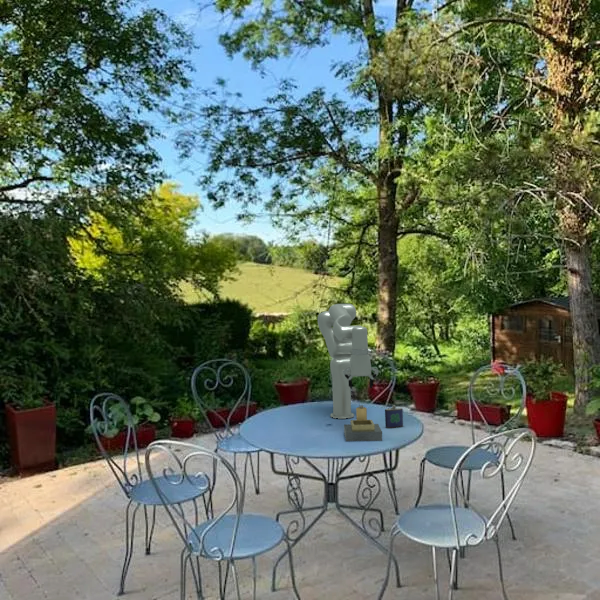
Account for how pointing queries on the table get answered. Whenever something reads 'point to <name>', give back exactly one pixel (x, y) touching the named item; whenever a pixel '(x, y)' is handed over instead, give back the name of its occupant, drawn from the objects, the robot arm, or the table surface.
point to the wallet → (393, 417)
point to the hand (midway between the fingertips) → (360, 387)
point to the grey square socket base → (362, 431)
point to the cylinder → (361, 413)
